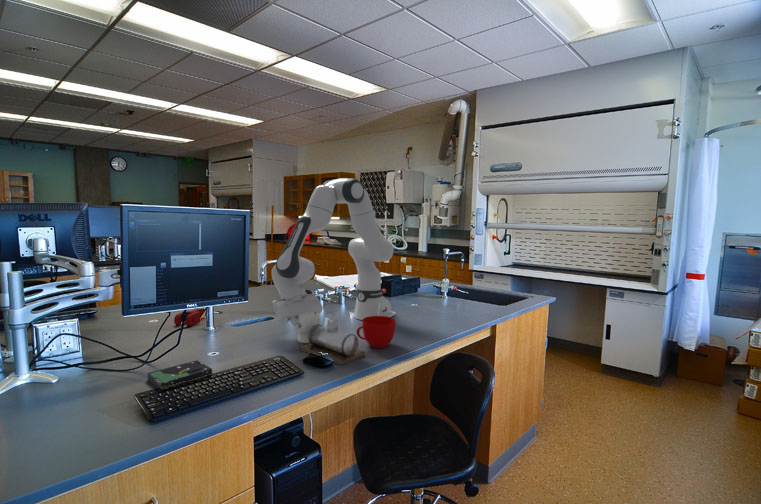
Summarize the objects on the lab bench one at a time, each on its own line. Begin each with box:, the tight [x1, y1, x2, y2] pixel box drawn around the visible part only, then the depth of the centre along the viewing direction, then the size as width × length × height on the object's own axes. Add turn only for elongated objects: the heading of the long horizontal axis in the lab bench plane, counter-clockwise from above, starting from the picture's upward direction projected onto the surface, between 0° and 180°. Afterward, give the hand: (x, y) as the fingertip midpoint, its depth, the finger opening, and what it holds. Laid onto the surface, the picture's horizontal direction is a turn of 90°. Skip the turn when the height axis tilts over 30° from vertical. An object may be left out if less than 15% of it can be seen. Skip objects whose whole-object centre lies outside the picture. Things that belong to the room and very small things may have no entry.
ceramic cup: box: [356, 316, 397, 349], centre depth 152 cm, size 13×17×10 cm
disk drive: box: [147, 359, 213, 389], centre depth 119 cm, size 10×3×15 cm
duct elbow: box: [297, 311, 321, 344], centre depth 156 cm, size 6×9×11 cm
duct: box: [300, 318, 366, 366], centre depth 143 cm, size 12×21×12 cm, turn 51°
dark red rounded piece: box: [173, 308, 206, 327], centre depth 178 cm, size 16×7×5 cm, turn 172°
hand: (307, 326), depth 156 cm, fingers closed on duct elbow, 6 cm apart
